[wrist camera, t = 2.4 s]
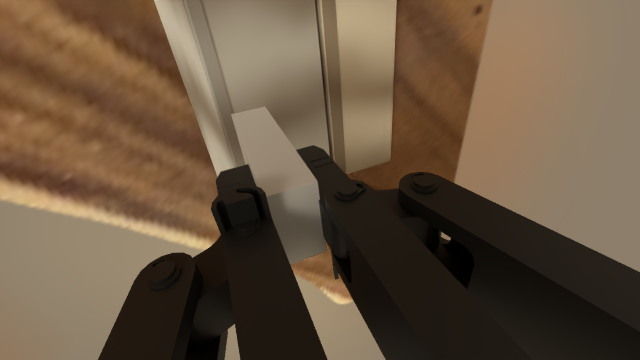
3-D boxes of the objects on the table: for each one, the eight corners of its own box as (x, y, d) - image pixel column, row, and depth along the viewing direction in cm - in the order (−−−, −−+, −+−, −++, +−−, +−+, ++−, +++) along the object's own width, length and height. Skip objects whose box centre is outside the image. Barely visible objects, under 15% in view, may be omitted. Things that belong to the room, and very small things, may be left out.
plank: (144, -27, 12) (173, -32, 10) (282, -37, 17) (312, -42, 15) (233, 220, 19) (255, 232, 18) (310, 161, 24) (331, 168, 23)
